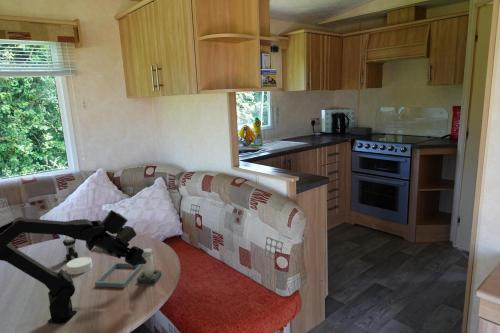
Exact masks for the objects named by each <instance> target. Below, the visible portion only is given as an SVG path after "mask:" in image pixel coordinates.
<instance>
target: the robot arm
mask: <svg viewBox="0 0 500 333" xmlns="http://www.w3.org/2000/svg"><path fill="white" fill-rule="evenodd" d="M128 221H129V220H128V219H127V217H125V216H124V215H122V214H120V213H119V212H116V211H115V210H112V209H111V210H110V211H109V212H108V214H107V215H106V216H105V218H103V220H89V219H87V218H83V219H82V218H81V219H72V220H67V221H65V220H64V221H63V220H50V219H49V220H48V219H40V218H39V219H38V218H26V217H22V216H19V217H16V218H15V219H13V220H12V221H9V222H8V223H6V224H3V225H1V226H0V261H1V262H2V261H3V262H6V263H8V264H9V265H11V266H13V267H15V269H18V270H20V271H21V272H23V273H25V274H26V275H28V276H30V277H32V279H34V280H37V281H38V282H40V283H41V284H42V285H45V287H46V288H47V289H48V292H47V297H48V302H49V305H48V309H49V314H50V318H49V319H48V320H47V323H48V324H56V325H57V324H58V325H65V324H66V323H68V322H69V321H70V320H71V319H72V318H73V317H74V316H75V315H76V314H77V313H78V312H77V310H75V309H74V308H73V303H72V299H71V298H72V297H73V296H74V294H75V293H76V287H75V283H74V280H73V278H72V277H73V276H72V274H68V273H67V271H66V272H65V271H64V269H62V268H61V269H60V270H59V271H53V270H51V269H50V268H48V267H47V266H45V265H44V264H42V263H40V262H38V261H37V260H36V259H34V258H32V257H30V256H29V255H27V254H26V253H24V252H22V251H21V250H20V249H18V248H17V247H15V246H14V244H13V243H12V242H13V241H14V240H15V239H16V238H18V236H19V235H21V234H39V235H40V234H41V235H52V236H53V235H56V236H66V237H67V238H68V237H71V238H74V239H76V240H78V241H79V240H80V241H83V242H85V247H86V248H87V250H88V251H89V252H91V251H92V250H93V249H94V247H96V248H98V249H99V250H101V251H103V253H105V254H108V255H110V256H112V257H115V258H118V259H119V260H120V259H121V258H124V263H128V264H130V265H132V266H136V265H139V264H146V262H147V261H146V260H145V259H144V258H143V256H142V254H143V252H144V250H143V249H142V248H140V247H138V246H136V245H133V246H131V247H129V246H130V245H131V244H130V243H129V242H131V241H132V240H133V239H134V238H135V237H136V236H137V232H136V231H135V229H134V227H131V226H128V225H126V223H127V222H128Z"/></svg>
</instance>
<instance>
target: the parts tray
mask: <svg viewBox="0 0 500 333" xmlns="http://www.w3.org/2000/svg"><path fill="white" fill-rule="evenodd" d="M117 268H127V269H128V268H130V269H131V268H132V269H133V268H134V270H133V271H132V272H131V273H130V274H129V276H127V278H126V279H125V280H124V281H121V282H120V281H105V280H106V279H107V278H108V277H109V276H110V275H112V273H113V272H114V271H115V270H116V269H117ZM142 269H143V264H139V265H136V266H132V265H130V264H128V263H126V262H115V263H113V265H111V267H109V269H107V271H105V273H103V274H102V275H101V276H99V278H97V279H96V281H95V282H94V285H95V288H96V287H97V288H98V287H99V288H101V287H103V288H121V289H125V288H127V286H128V284H130V282H131V281H133V279H134V278H135V277H136V276H137V275H138V273H139V272H140V271H141V270H142Z"/></svg>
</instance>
